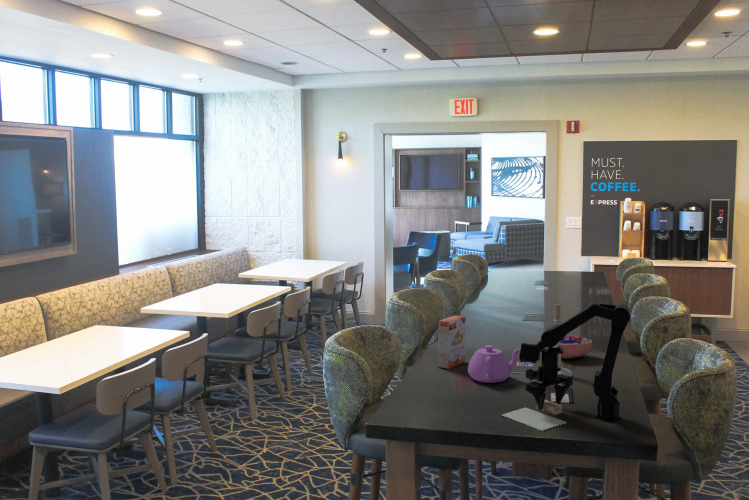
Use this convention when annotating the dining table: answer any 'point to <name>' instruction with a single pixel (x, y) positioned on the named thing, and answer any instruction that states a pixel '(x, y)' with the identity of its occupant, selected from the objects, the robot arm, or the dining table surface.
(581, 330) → the dining table surface
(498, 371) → the teapot
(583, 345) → the cell model
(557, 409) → the grooved tan block
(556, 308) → the candlestick
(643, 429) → the dining table surface
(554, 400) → the chocolate bar
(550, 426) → the sage mat
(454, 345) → the cracker box
